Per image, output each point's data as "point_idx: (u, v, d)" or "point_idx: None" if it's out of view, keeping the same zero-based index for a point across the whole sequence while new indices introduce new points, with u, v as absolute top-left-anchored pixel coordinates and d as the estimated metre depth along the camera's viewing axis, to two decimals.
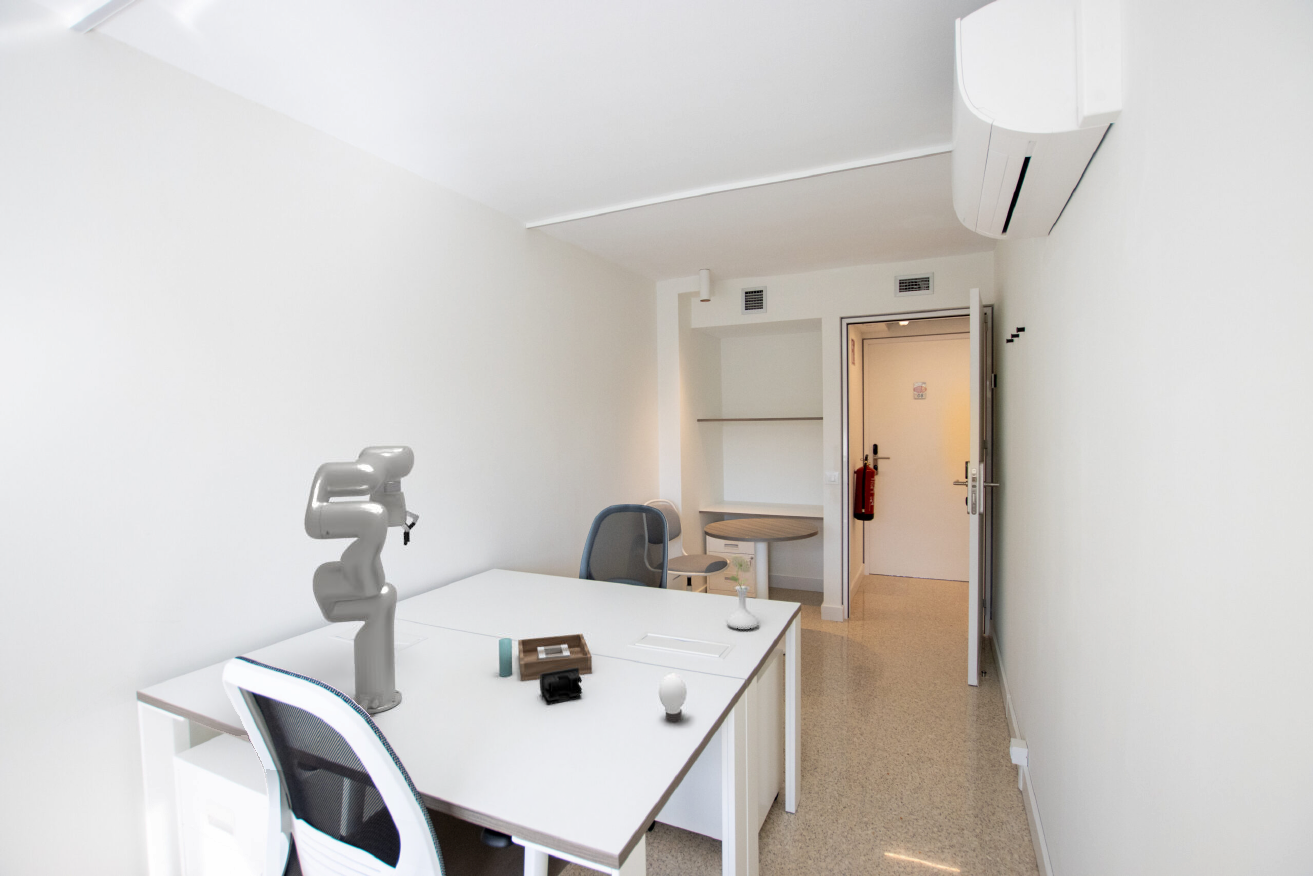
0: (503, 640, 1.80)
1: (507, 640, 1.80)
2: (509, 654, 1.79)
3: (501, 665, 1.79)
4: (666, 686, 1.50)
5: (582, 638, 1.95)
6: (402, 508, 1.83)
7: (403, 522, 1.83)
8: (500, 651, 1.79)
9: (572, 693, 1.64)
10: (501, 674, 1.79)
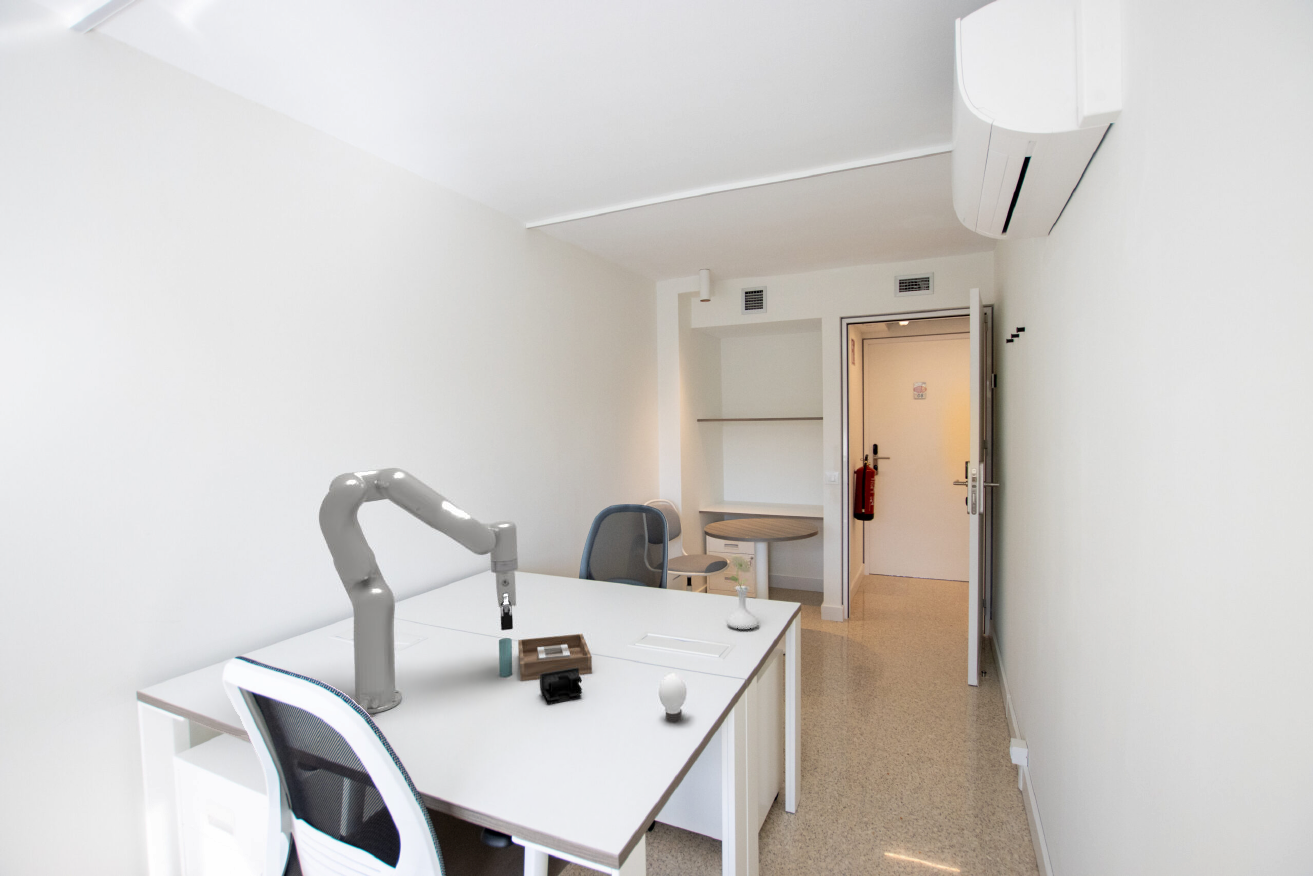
0: (503, 640, 1.80)
1: (507, 640, 1.80)
2: (509, 654, 1.79)
3: (501, 665, 1.79)
4: (666, 686, 1.50)
5: (582, 638, 1.95)
6: None
7: None
8: (500, 651, 1.79)
9: (572, 693, 1.64)
10: (501, 674, 1.79)
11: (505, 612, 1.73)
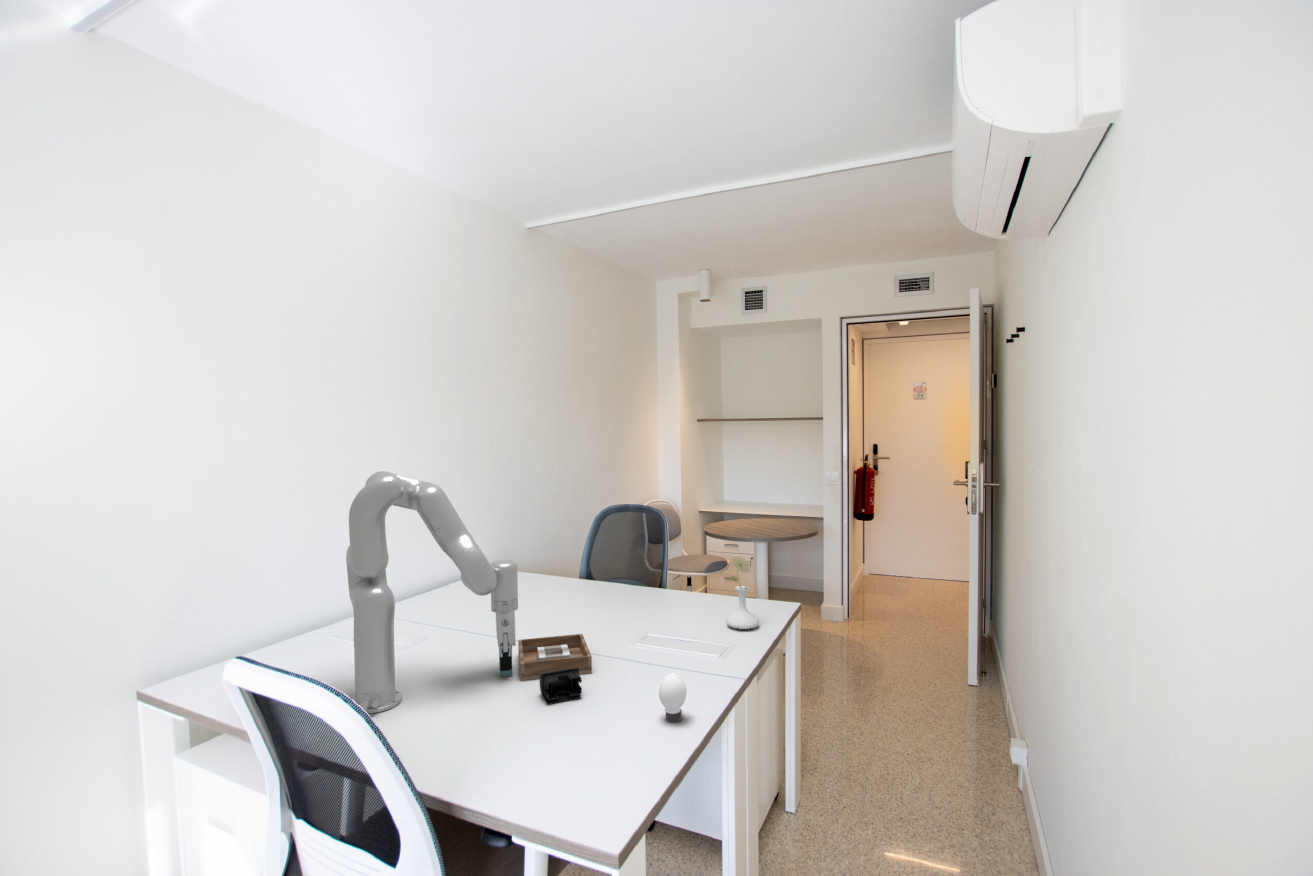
0: None
1: None
2: None
3: None
4: (666, 686, 1.50)
5: (582, 638, 1.95)
6: None
7: None
8: (500, 651, 1.79)
9: (572, 693, 1.64)
10: (501, 674, 1.79)
11: (504, 653, 1.76)
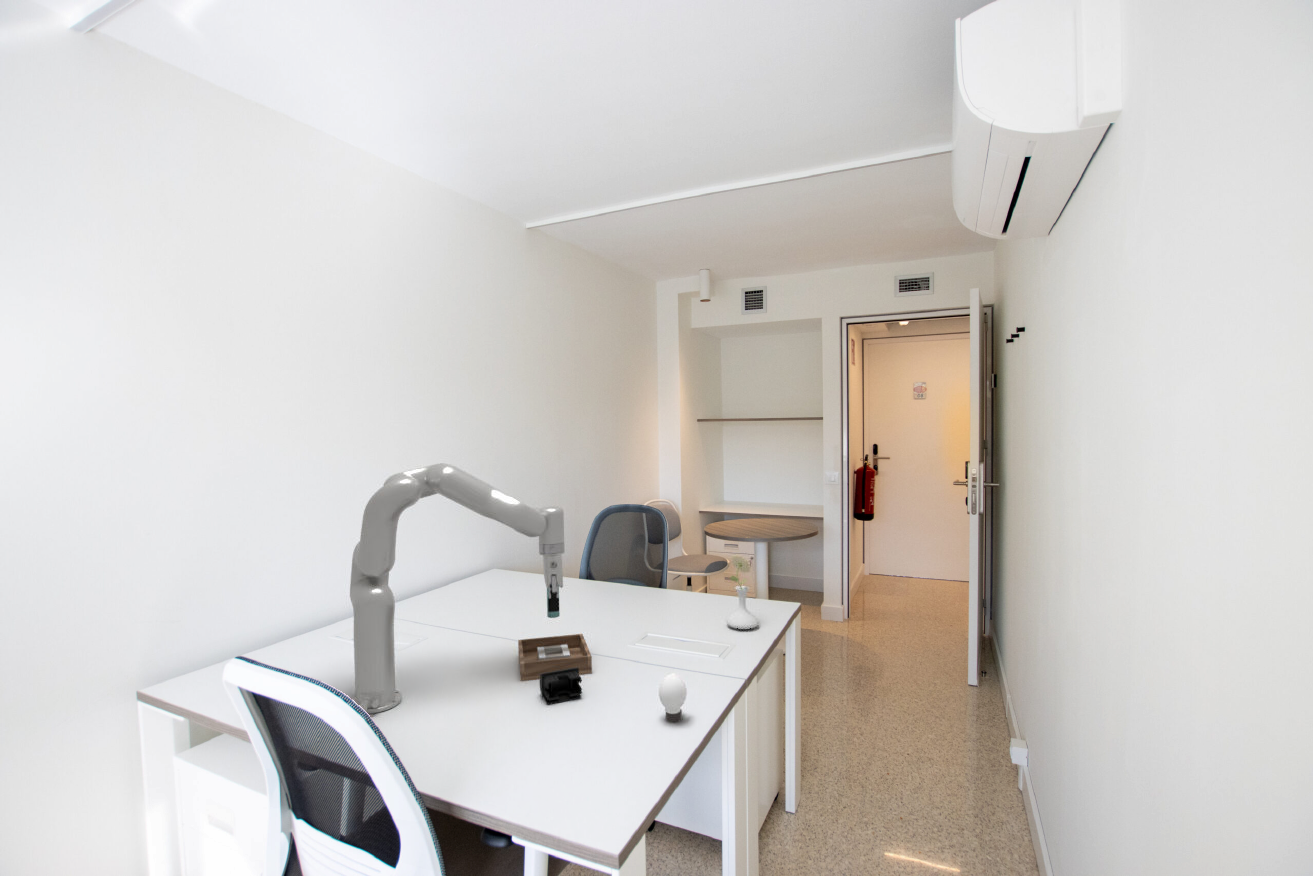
0: None
1: None
2: None
3: None
4: (666, 686, 1.50)
5: (582, 638, 1.95)
6: None
7: None
8: (548, 593, 1.86)
9: (572, 693, 1.64)
10: (549, 615, 1.86)
11: (553, 594, 1.83)
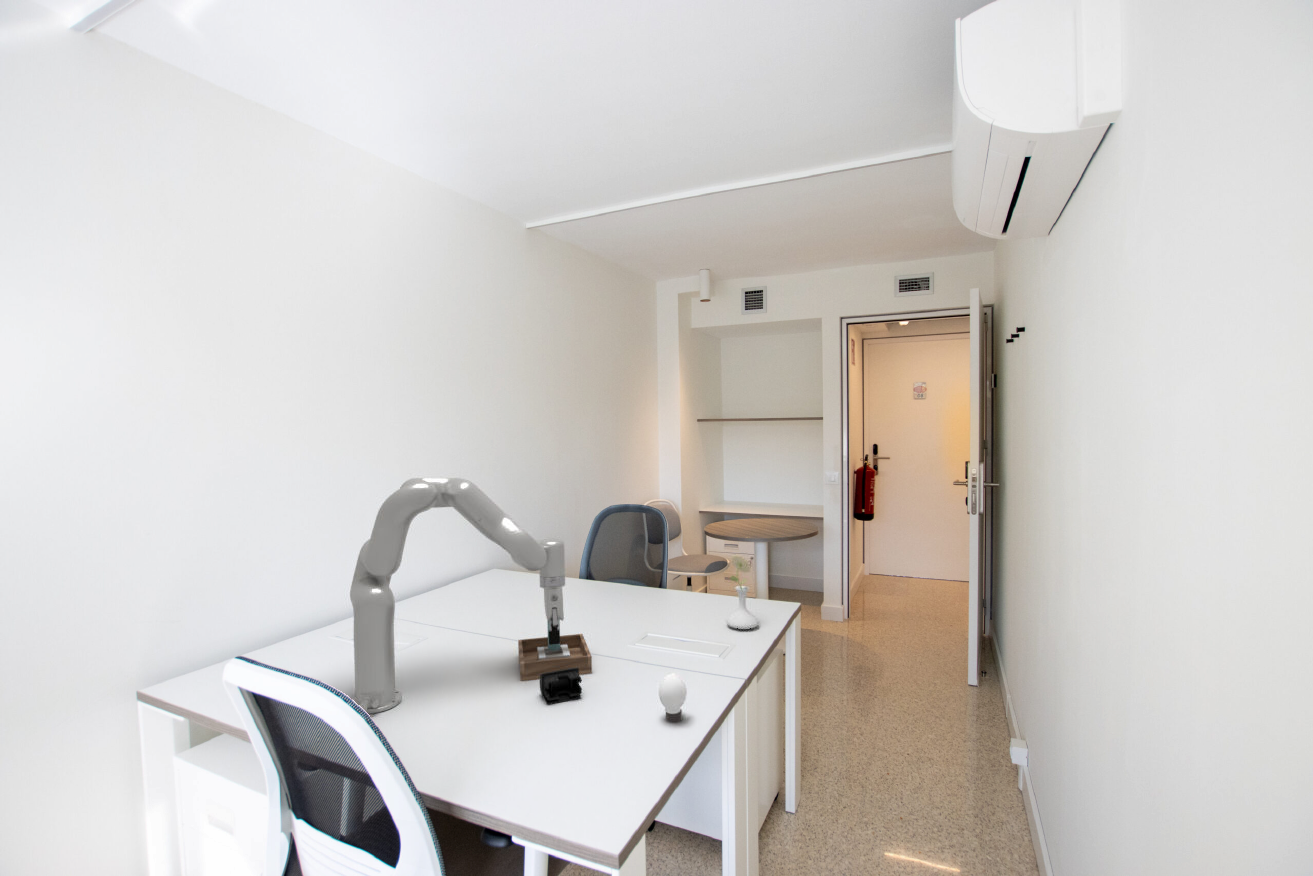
0: None
1: None
2: None
3: None
4: (666, 686, 1.50)
5: (582, 638, 1.95)
6: None
7: None
8: None
9: (572, 693, 1.64)
10: (550, 647, 1.86)
11: (553, 627, 1.83)
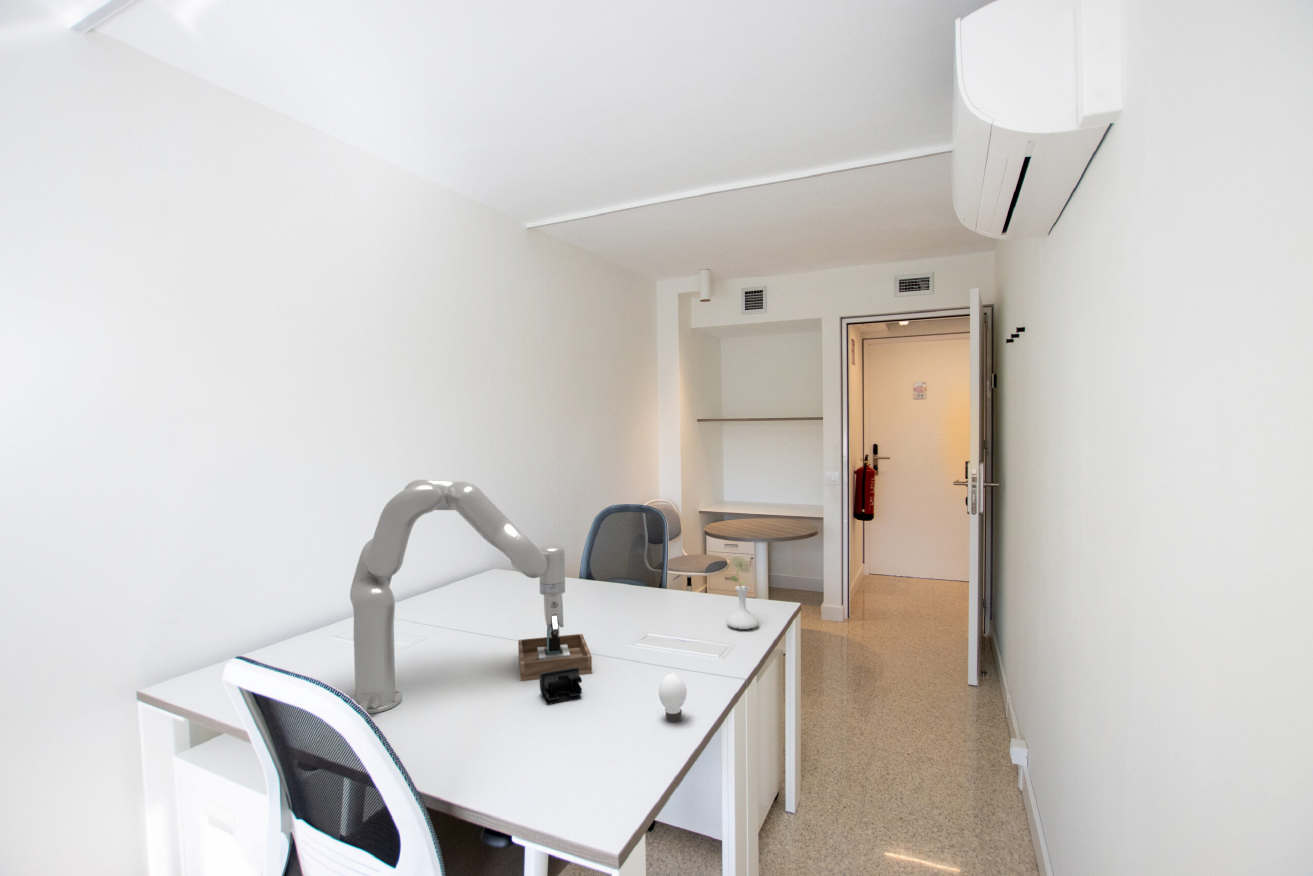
0: None
1: None
2: None
3: (549, 652, 1.86)
4: (666, 686, 1.50)
5: (582, 638, 1.95)
6: None
7: None
8: (548, 638, 1.86)
9: (572, 693, 1.64)
10: None
11: (553, 635, 1.82)
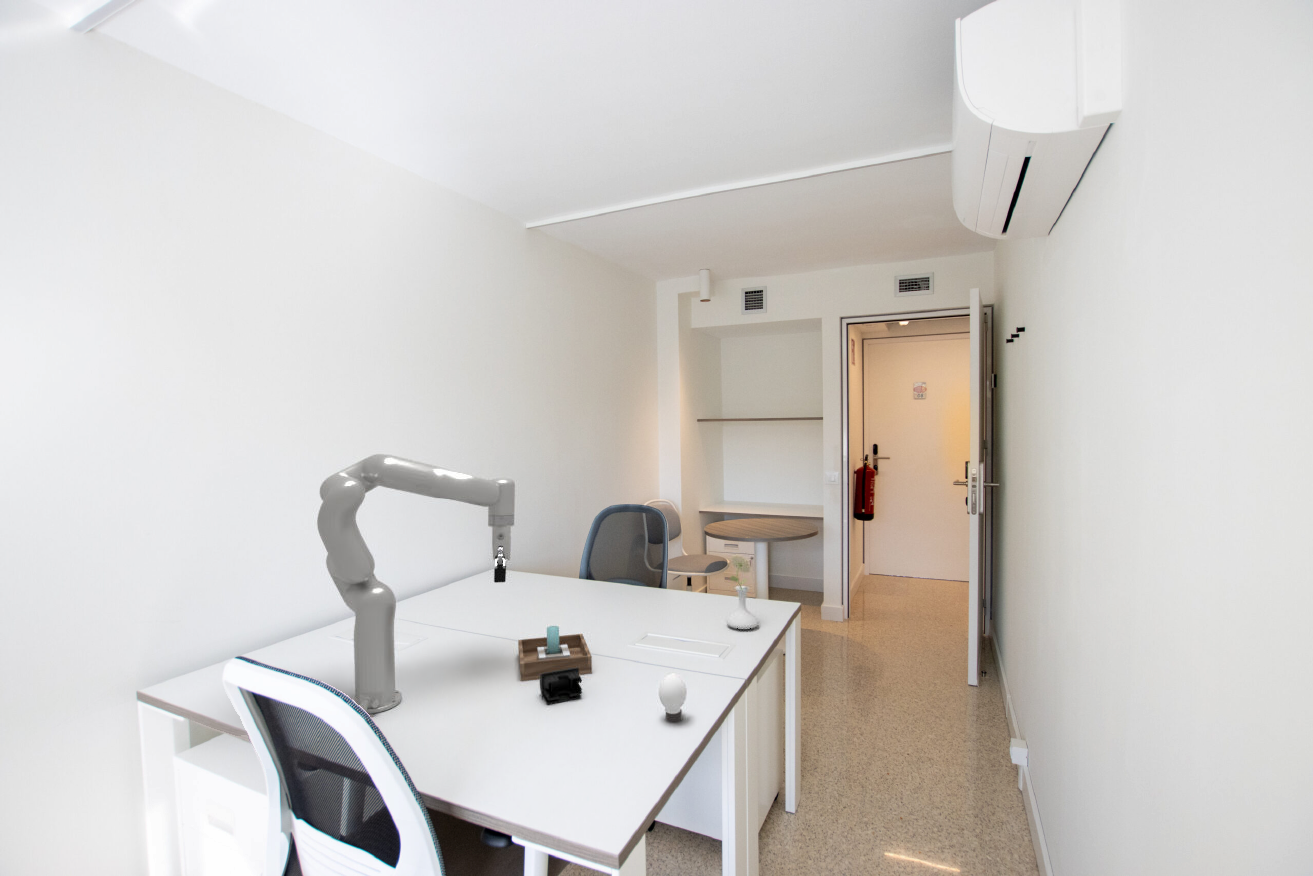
0: (551, 628, 1.87)
1: (554, 627, 1.87)
2: (557, 641, 1.87)
3: (549, 652, 1.86)
4: (666, 686, 1.50)
5: (582, 638, 1.95)
6: None
7: None
8: (548, 638, 1.86)
9: (572, 693, 1.64)
10: None
11: (499, 564, 1.78)
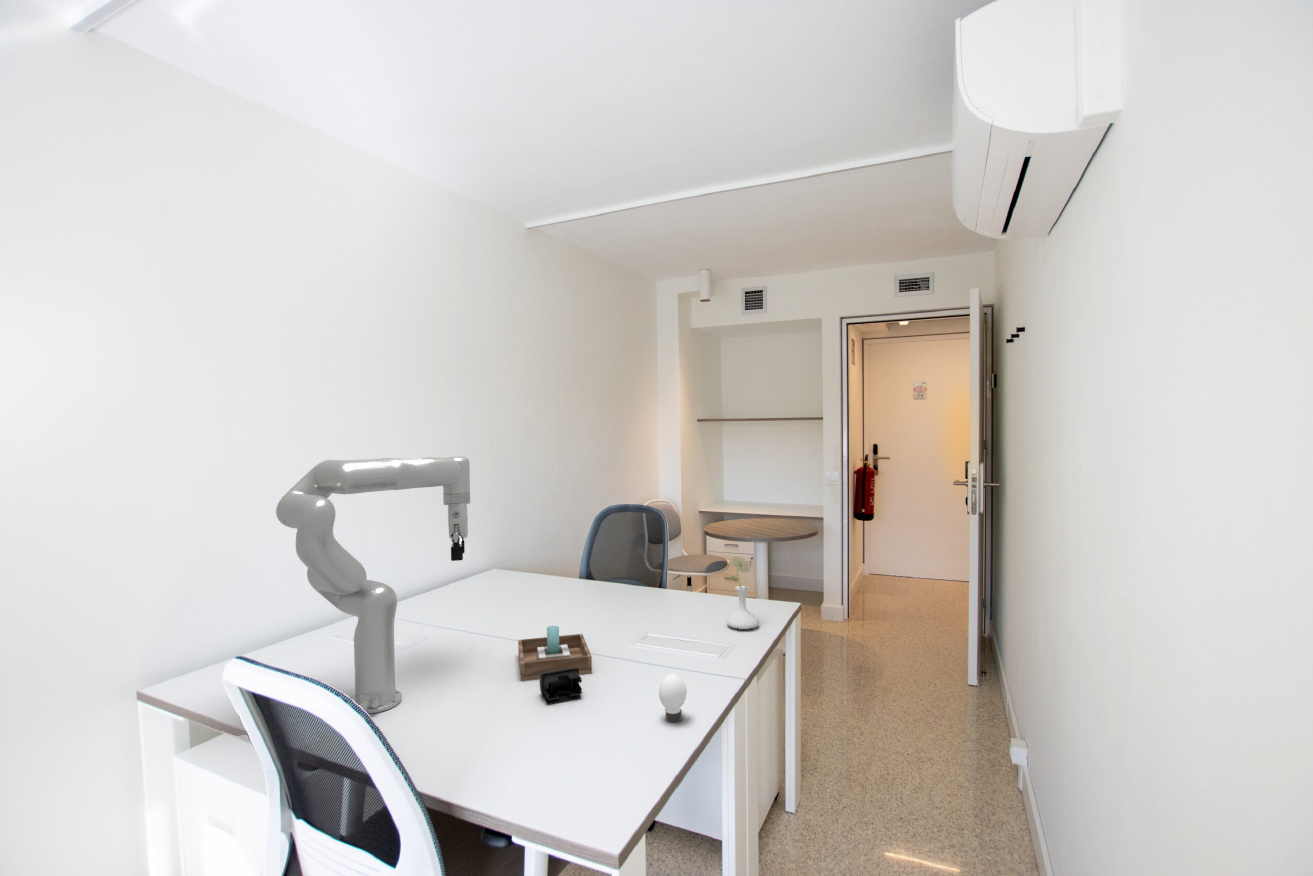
0: (551, 628, 1.87)
1: (555, 627, 1.88)
2: (557, 641, 1.87)
3: (549, 652, 1.86)
4: (666, 686, 1.50)
5: (582, 638, 1.95)
6: None
7: None
8: (548, 638, 1.86)
9: (572, 693, 1.64)
10: None
11: (455, 542, 1.77)
